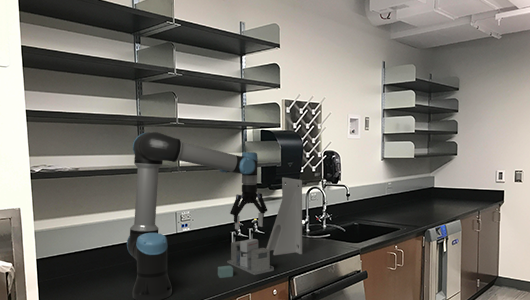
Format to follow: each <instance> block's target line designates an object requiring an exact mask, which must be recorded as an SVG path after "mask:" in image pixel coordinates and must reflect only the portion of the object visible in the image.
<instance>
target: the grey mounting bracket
mask: <svg viewBox="0 0 530 300" xmlns="http://www.w3.org/2000/svg"><path fill="white" fill-rule="evenodd" d="M281 196H282V197H281V199H282V200H281V202H280V205H279V208H278V212H277V214H276V215H277V216H276V217H275V221H274V224H273V226H272V231H271V232H270V235H269V239H268V241H267V245H266V247H265V248H266V249H269V250H270V252H271V251H273V253H272V256H279V255H286V254H293V253H296V254H298V255H303V179H297V178H291V177H282V178H281Z"/></svg>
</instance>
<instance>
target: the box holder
mask: <svg viewBox="0 0 530 300" xmlns="http://www.w3.org/2000/svg"><path fill="white" fill-rule="evenodd" d="M241 241H242V240H240V241H239V240H238V241H233V242H230V259H229V260H226V261H227V263H226V264H229V265H231V266H232V267H236V268H237V269H241V270H242V271H244V272H247V273H249V274H251V275H254V276H256V275H261V274H265V273H270V272H273V271H275V269H274V268H275V267H274V266H272V265H270V263H271V262H270V261H271V260H270V258H271V257H270V255H271V253H270V252H271V251H270V250H269V249H266V248H267V247H260V248H259V247H258V249H254V250H251V266H250V267H244V266H241V265H240V242H241Z"/></svg>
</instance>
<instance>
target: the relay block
mask: <svg viewBox="0 0 530 300" xmlns="http://www.w3.org/2000/svg"><path fill="white" fill-rule="evenodd" d="M233 267H234V266H233V265H231V264H229V265H224V266H217V276H218V278H220V279H223V278H224V279H225V278H232V277H234V268H233Z"/></svg>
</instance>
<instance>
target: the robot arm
mask: <svg viewBox="0 0 530 300" xmlns="http://www.w3.org/2000/svg"><path fill="white" fill-rule="evenodd" d="M132 150H133V153H134V158H133V159H134V161H133V163H134V165H135V166H136V168H137V176H136V188H135V189H136V191H135V203H134V204H135V205H134V206H135V207H134V223H133V225H132V226H130V228H129V236H128V238H127V240H126V247H127V251H128V253H129V254H130V256H131V257H132V258H134V260H136V279H135V283H134V286H133V288H132V299H134V300H165V299H167V298H169V297H170V296H171V295H172V294H173V286H172V284H171V281H170V279H169V275H168V239H167V236H166V235H164V234H162V233H159V227H158V226H157V225H156V217H157V216H156V215H157V200H158V199H157V198H158V184H159V169H160V168H161V167H162V166H163V163H164V162H165V161H167V162H172V163H176V162H178V161H180V162H184V163H189V164H195V165H199V166H202V167H208V168H213V169H217V170H219V172H220V173H226V174H227V173H234V174H241V192H242V194H236V195H235V200H234V202H233V205H232V207H231V210H230V212H229V214H230V215H232V216H233V223H234V229H235V230H237V231H239V230H240V215H239V214H240V213H241V211H242V210H243V208H244V207H245V205H246V206H247V204H253V205H254V206H255V208H256V209H257V210H258V213H257V214H258V216H257V219H258V221H257V224H258V225H257V227H261V228H262V227H264V225H263V224H264V223H263V221H264V219H265V214H266V212H268V207H267V205H266V203H265V200H264V199H263V193H260V192H258V185H257V183H258V165H259V164H258V153H257V152H256V151H254V152H253V151H251V152H250V151H248V152H247V151H246V152H245V151H243V152H242V153H241V156H240V155H237V154H233V153H228V152H224V151H219V150H216V149H212V148H207V147H203V146H199V145H194V144H190V143H187V142H183V141H182V140H181V139H180V138H175V137H172V136H170V135H167V134H164V133H161V132H156V131H153V132H150V131H148V132H142V133H141V134H138V136H136V137H135V139H134V141H133V143H132ZM163 161H164V162H163ZM257 192H258V193H257ZM257 199H258V200H257Z"/></svg>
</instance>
